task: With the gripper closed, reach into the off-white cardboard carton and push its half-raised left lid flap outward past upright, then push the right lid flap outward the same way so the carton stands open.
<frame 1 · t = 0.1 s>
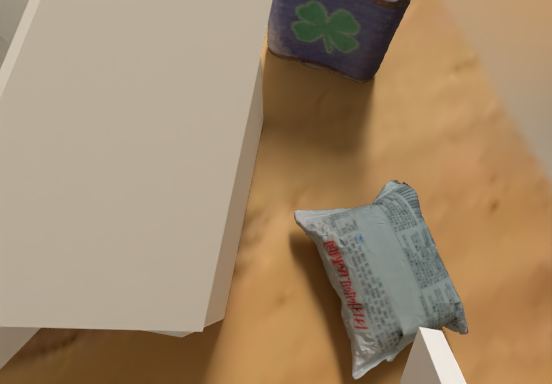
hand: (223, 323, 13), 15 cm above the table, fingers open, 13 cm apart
packaged food: (367, 273, 29), on the table
carton: (133, 193, 30), on the table
purple green package: (321, 58, 34), on the table
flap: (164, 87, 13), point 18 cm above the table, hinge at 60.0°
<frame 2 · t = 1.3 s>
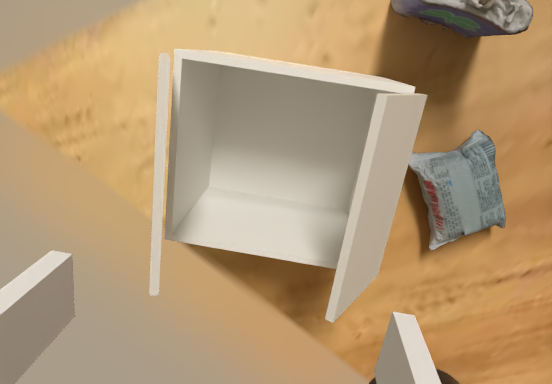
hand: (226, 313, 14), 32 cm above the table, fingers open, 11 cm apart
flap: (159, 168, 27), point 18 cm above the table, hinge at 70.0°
packaged food: (447, 185, 45), on the table
carton: (287, 136, 44), on the table
purple green package: (437, 11, 39), on the table
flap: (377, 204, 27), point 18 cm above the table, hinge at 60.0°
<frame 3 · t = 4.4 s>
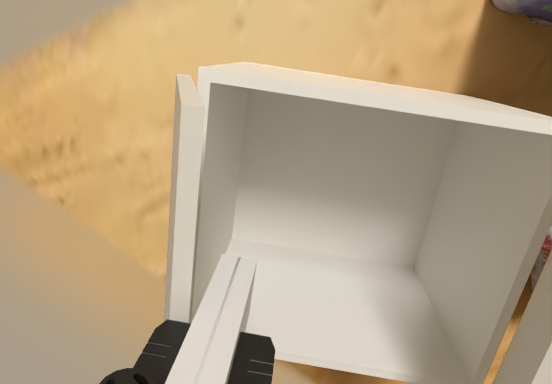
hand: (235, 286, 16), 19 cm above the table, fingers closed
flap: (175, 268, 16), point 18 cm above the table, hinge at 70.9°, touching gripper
carton: (337, 173, 33), on the table
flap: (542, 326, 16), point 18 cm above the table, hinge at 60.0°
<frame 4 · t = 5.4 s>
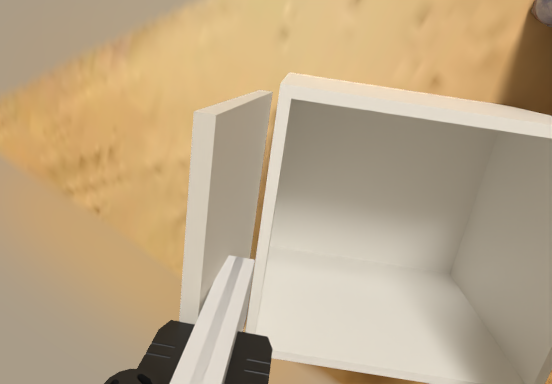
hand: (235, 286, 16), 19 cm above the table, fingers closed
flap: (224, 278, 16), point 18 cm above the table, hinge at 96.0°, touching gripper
carton: (376, 181, 34), on the table
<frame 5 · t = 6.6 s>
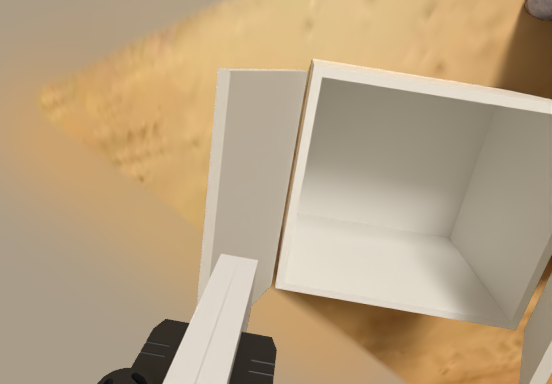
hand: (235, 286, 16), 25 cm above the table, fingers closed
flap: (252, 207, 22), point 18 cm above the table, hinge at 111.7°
carton: (386, 155, 39), on the table
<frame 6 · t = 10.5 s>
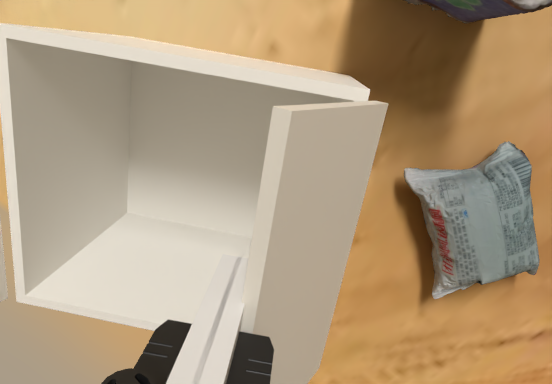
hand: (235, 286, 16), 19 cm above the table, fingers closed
packaged food: (459, 213, 34), on the table
carton: (226, 151, 34), on the table
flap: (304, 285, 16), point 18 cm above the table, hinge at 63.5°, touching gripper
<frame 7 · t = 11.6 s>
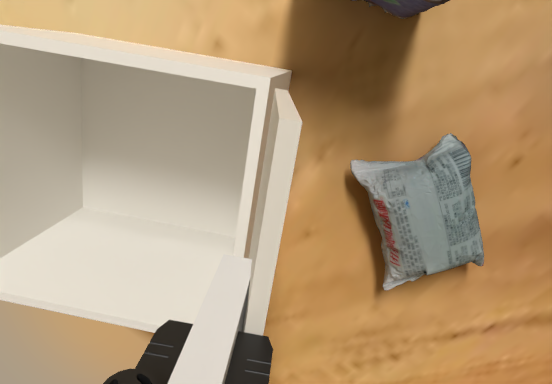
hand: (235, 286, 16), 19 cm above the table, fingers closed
packaged food: (410, 206, 34), on the table
carton: (177, 146, 34), on the table
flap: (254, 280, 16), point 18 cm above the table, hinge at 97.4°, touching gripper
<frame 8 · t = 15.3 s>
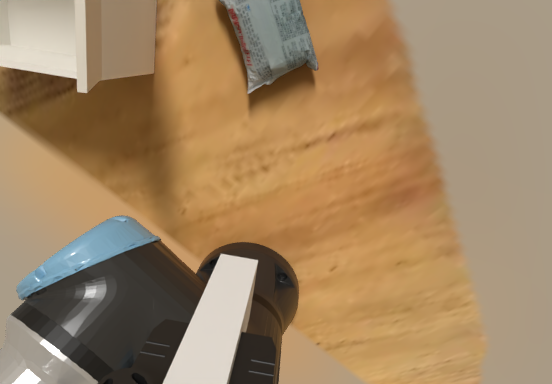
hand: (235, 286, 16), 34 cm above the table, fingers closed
packaged food: (267, 30, 45), on the table
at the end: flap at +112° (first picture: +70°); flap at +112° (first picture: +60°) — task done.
